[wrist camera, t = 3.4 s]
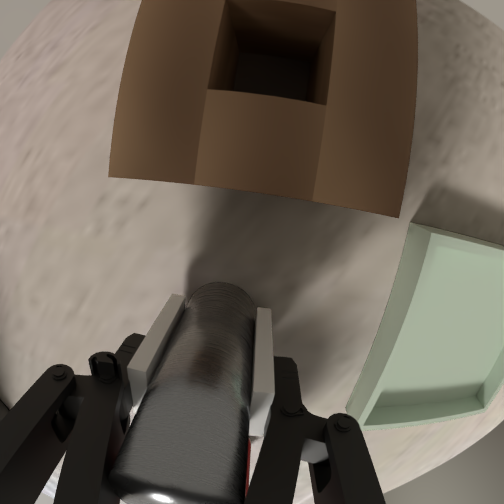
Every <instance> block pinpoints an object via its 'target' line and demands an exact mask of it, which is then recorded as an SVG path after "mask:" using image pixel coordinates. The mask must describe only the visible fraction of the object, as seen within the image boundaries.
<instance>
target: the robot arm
mask: <svg viewBox="0 0 504 504" xmlns="http://www.w3.org/2000/svg"><path fill="white" fill-rule="evenodd" d="M185 299H186V296H182V295H176V294H172V295H171V297H170V298H169V300H168V302H167V303H166V305H165V306H164V308H163V309H162V311H161V313H160V314H159V316H158V317H157V319H156V320H155V322H154V324H153V325H152V327H151V328H150V330H149V332H148V333H147V335H146V336H145V335H140V334H136V333H133V334H132V335H130V336H128V337H127V338H126V339H125V340H124V342H123V343H122V345H121V346H120V347H119V349H118V350H117V352H116V353H115V354H114V353H111V352H98V353H95V354H93V355H92V356H91V357H90V358H89V359H88V360H89V365H90V369H91V374H92V375H89V376H86V375H74V371H73V370H72V368H71V367H69V366H67V365H64V364H56V365H53V366H51V367H50V368H48V369H47V370H46V371H45V372H44V373H43V374H42V376H41V377H40V378H39V379H38V380H37V381H36V382H35V383H34V384H33V385H32V386H31V387H30V389H29V390H28V391H27V392H26V393H25V394H24V395H23V396H22V397H21V399H20V400H19V401H18V402H17V403H16V404H15V405H14V406H13V408H12V409H11V410H10V411H9V410H8V409H7V408H6V406H5V405H4V404H3V403H2V402H1V400H0V504H34V503H35V501H36V500H37V498H38V496H39V495H40V493H41V491H42V490H43V488H44V486H45V485H46V483H47V481H48V480H49V478H50V476H51V475H52V473H53V471H54V470H55V468H56V466H57V465H58V463H59V462H60V460H61V458H62V457H63V455H64V453H65V452H66V454H65V458H64V461H63V465H62V469H61V473H60V477H59V481H58V485H57V489H56V494H55V498H54V503H53V504H120V498H119V497H117V496H116V494H115V492H114V491H113V489H112V487H111V485H110V483H109V481H108V479H107V478H108V476H109V473H110V471H111V469H112V466H113V464H114V462H115V459H116V457H117V455H118V452H119V450H120V448H121V445H122V443H123V441H124V439H125V436H126V434H127V432H128V429H129V425H130V414H129V412H130V410H131V408H132V406H133V410H134V414H136V412H137V409H138V407H139V405H140V403H141V401H142V399H143V396H144V394H145V392H146V390H147V388H148V386H149V383H150V381H151V379H152V377H153V375H154V373H155V371H156V369H157V366H158V364H159V362H160V360H161V358H162V356H163V354H164V352H165V350H166V348H167V346H168V343H169V341H170V339H171V337H172V335H173V333H174V331H175V329H176V327H177V325H178V323H179V321H180V319H181V317H182V315H183V313H184V311H185ZM298 379H299V378H298V371H297V365H296V363H295V362H294V361H293V359H292V358H287V357H277V356H273V335H272V314H271V309H269V308H261V307H257V312H256V318H255V329H254V348H253V366H252V384H251V401H250V426H249V435H250V436H260V437H263V433H264V440H263V443H262V447H261V450H260V453H259V457H258V460H257V463H256V466H255V470H254V473H253V476H252V479H251V482H250V485H249V488H248V491H247V494H246V497H245V502H244V504H292V503H293V498H294V493H295V488H296V482H297V477H298V472H299V466H300V460H303V461H306V462H308V465H309V471H310V477H311V483H312V489H313V496H314V502H315V504H386V503H385V500H384V497H383V493H382V490H381V487H380V484H379V481H378V478H377V475H376V472H375V469H374V466H373V463H372V460H371V457H370V454H369V451H368V448H367V445H366V443H365V440H364V437H363V434H362V431H361V428H360V425H359V423H358V422H357V420H356V419H355V418H353V417H352V416H350V415H348V414H344V413H337V414H333V415H332V416H330V417H329V418H328V419H326V418H322V417H319V416H316V415H313V414H311V413H310V412H308V411H307V409H306V407H305V406H304V405H303V404H302V400H301V392H300V385H299V380H298ZM66 450H67V451H66Z"/></svg>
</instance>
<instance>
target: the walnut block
mask: <svg viewBox="0 0 504 504" xmlns="http://www.w3.org/2000/svg"><path fill="white" fill-rule="evenodd" d="M417 71H418V28H417V8H416V0H142V2H141V5H140V8H139V11H138V14H137V18H136V21H135V24H134V28H133V32H132V35H131V39H130V43H129V47H128V51H127V55H126V60H125V64H124V69H123V73H122V78H121V83H120V89H119V94H118V100H117V106H116V112H115V119H114V126H113V134H112V143H111V152H110V162H109V175H108V177H116V178H130V179H142V180H154V181H164V182H174V183H184V184H193V185H202V186H211V187H219V188H227V189H234V190H242V191H249V192H256V193H263V194H270V195H276V196H283V197H289V198H295V199H301V200H307V201H313V202H319V203H324V204H330V205H335V206H341V207H346V208H351V209H356V210H362V211H367V212H371V213H376V214H381V215H386V216H390V217H395V218H399V215H400V210H401V205H402V200H403V195H404V189H405V184H406V178H407V172H408V166H409V159H410V152H411V145H412V137H413V128H414V118H415V107H416V93H417Z"/></svg>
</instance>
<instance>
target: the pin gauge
mask: <svg viewBox="0 0 504 504" xmlns="http://www.w3.org/2000/svg"><path fill="white" fill-rule="evenodd" d="M255 315H256V314H255V307H254V304H253V302H252V300H251V299H250V297H249V296H248V295H247V294H246V293H245V292H244V291H243V290H242V289H240V288H238V287H236V286H234V285H231V284H228V283H221V282H217V283H210V284H207V285H205V286H202V287H201V288H199V289H198V290H197V291H196V292H195V293H194V294H193V295H192V297H191V299H190V301H189V303H188V305H187V307H186V309H185V311H184V313H183V315H182V317H181V319H180V321H179V323H178V325H177V327H176V329H175V331H174V333H173V335H172V337H171V339H170V341H169V343H168V346H167V348H166V350H165V352H164V354H163V356H162V358H161V360H160V362H159V364H158V366H157V369H156V371H155V373H154V375H153V377H152V379H151V381H150V383H149V386H148V388H147V390H146V392H145V394H144V396H143V399H142V401H141V403H140V405H139V407H138V409H137V412H136V414H135V416H134V418H133V421H132V423H131V425H130V427H129V429H128V432H127V434H126V436H125V439H124V441H123V443H122V445H121V448H120V450H119V452H118V455H117V457H116V459H115V462H114V464H113V466H112V469H111V471H110V473H109V476H108V478H107V479H108V481H109V483H110V485H111V487H112V489H113V491H114V492H115V494H116V496H117V497H119V498H120V499H121V500H122V501H124V502H125V503H127V504H244V502H245V493H246V477H247V460H248V443H249V426H250V401H251V384H252V366H253V348H254V329H255Z"/></svg>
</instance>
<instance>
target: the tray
mask: <svg viewBox="0 0 504 504" xmlns="http://www.w3.org/2000/svg"><path fill="white" fill-rule="evenodd" d="M503 384H504V246H502V245H499V244H495V243H491V242H488V241H484V240H481V239H477V238H473V237H469V236H466V235H462V234H458V233H454V232H450V231H446V230H442V229H438V228H434V227H429V226H425V225H421V224H416V223H412V222H410V225H409V229H408V233H407V237H406V242H405V246H404V249H403V253H402V257H401V261H400V264H399V268H398V271H397V275H396V278H395V282H394V285H393V288H392V291H391V295H390V298H389V301H388V304H387V307H386V310H385V313H384V316H383V318H382V321H381V324H380V327H379V330H378V332H377V335H376V338H375V340H374V343H373V346H372V348H371V351H370V353H369V356H368V358H367V361H366V363H365V365H364V368H363V370H362V372H361V375H360V377H359V379H358V382H357V384H356V386H355V388H354V390H353V393H352V395H351V397H350V399H349V401H348V403H347V405H346V407H345V408H346V411H347V414H348V415H350V416H352V417H353V418H355V419H356V420H357V422H358V423H359V425H360V428H361V431H368V430H382V429H393V428H403V427H411V426H418V425H425V424H431V423H437V422H443V421H448V420H453V419H458V418H463V417H467V416H472V415H476V414H480V413H484V412H485V411H486V410H487V408H488V407H489V405H490V404H491V402H492V401H493V399H494V398H495V396H496V395H497V393H498V392H499V390H500V388H501V387H502V385H503Z"/></svg>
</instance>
